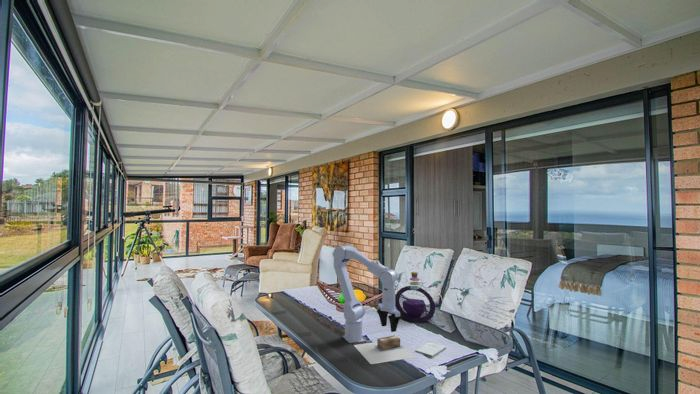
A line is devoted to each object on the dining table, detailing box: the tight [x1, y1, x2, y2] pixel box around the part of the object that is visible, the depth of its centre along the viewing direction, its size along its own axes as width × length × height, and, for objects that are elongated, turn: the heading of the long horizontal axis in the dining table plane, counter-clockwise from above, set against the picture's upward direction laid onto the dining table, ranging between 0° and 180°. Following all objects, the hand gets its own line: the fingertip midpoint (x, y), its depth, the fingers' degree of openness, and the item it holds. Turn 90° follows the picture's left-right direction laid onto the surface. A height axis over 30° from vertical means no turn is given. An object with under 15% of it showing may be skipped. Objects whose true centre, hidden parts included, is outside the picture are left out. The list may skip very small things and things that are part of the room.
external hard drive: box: [414, 342, 447, 359], centre depth 156 cm, size 2×8×12 cm
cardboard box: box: [376, 335, 401, 350], centre depth 159 cm, size 9×4×4 cm, turn 118°
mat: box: [353, 341, 416, 365], centre depth 155 cm, size 20×20×1 cm
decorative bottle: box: [395, 271, 436, 324], centre depth 202 cm, size 22×21×25 cm
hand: (388, 328), depth 159 cm, fingers open, 7 cm apart
